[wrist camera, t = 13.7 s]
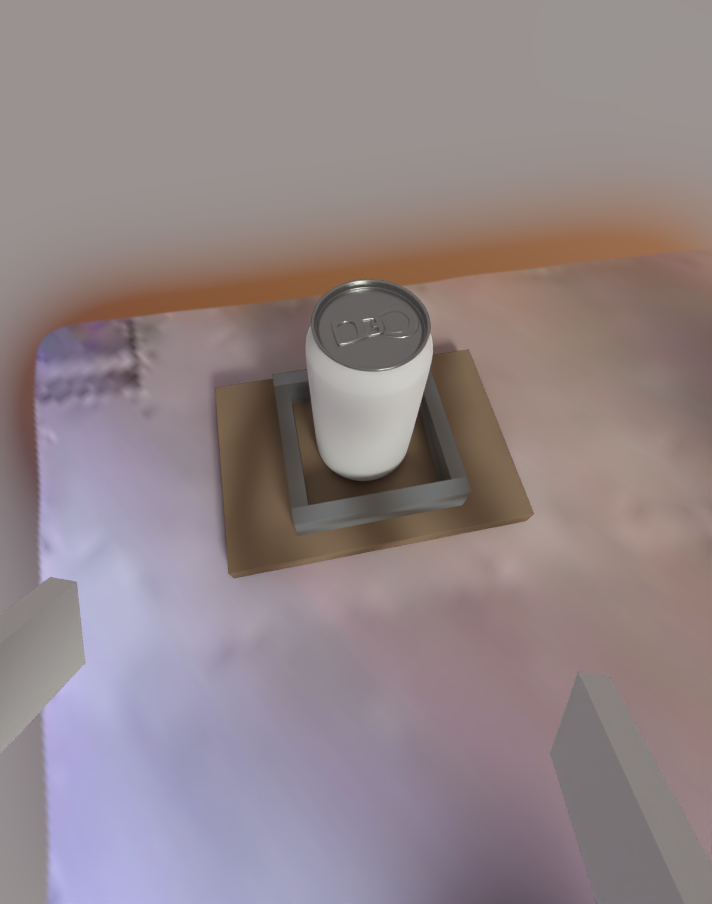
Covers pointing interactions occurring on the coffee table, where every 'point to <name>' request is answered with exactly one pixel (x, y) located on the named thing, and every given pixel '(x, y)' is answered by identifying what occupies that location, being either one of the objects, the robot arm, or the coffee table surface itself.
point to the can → (367, 375)
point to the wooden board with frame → (359, 502)
